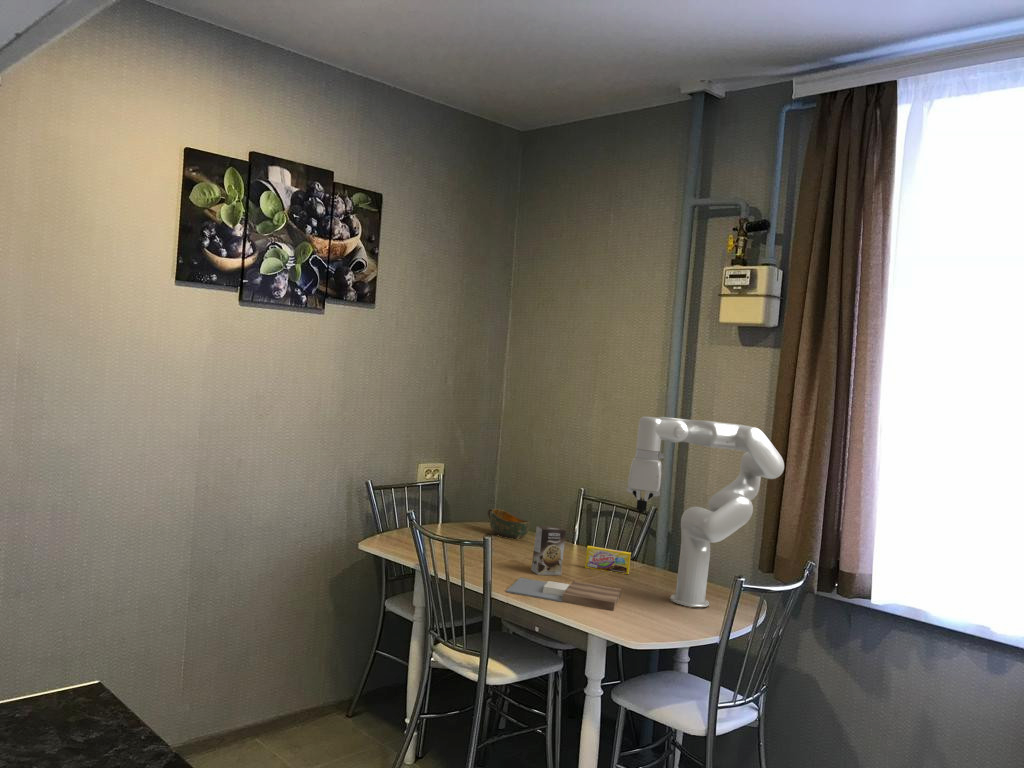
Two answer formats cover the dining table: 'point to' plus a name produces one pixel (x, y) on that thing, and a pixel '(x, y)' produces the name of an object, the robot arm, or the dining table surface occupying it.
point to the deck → (592, 595)
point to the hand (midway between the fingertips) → (641, 512)
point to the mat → (532, 589)
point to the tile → (555, 588)
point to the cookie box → (548, 550)
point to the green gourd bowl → (507, 524)
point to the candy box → (607, 559)
